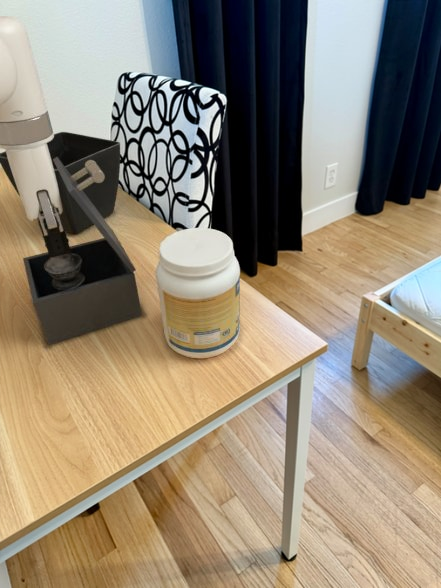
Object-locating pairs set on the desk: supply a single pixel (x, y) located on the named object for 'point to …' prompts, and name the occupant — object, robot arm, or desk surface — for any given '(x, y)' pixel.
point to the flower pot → (73, 157)
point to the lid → (87, 205)
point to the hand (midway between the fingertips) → (57, 246)
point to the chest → (84, 293)
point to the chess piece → (65, 271)
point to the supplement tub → (199, 292)
